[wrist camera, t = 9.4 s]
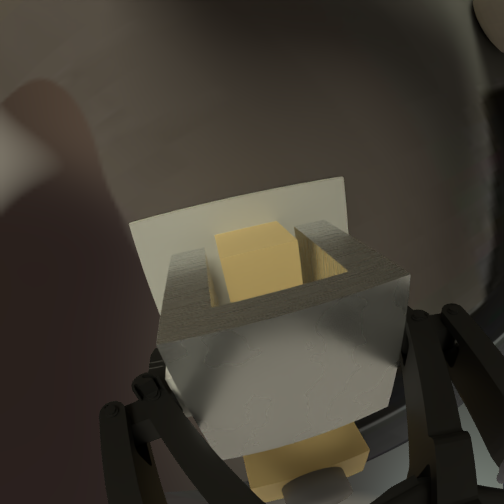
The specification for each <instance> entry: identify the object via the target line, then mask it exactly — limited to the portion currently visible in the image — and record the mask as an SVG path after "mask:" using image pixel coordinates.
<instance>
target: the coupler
mask: <svg viewBox="0 0 504 504" xmlns="http://www.w3.org/2000/svg"><path fill="white" fill-rule="evenodd" d="M214 236H215V240H216V244H217V249H218V253H219V257H220V262H221V266H222V270H223V274H224V278H225V282H226V286H227V290H228V294H229V298H230V302H231V303H233V302H237V301H241V300H245V299H249V298H253V297H257V296H261V295H265V294H269V293H272V292H276V291H280V290H284V289H288V288H291V287H295V286H299V285H302V284H303V280H302V272H301V263H300V255H299V247H298V240H297V239H296V238H295V237H294V236H293V235H292V234H290V233H289V232H288V231H287V230H286V229H285V228H284V227H283V226H282V225H281V224H280V223H279V222H277V221H274V222H269V223H265V224H260V225H256V226H252V227H247V228H243V229H238V230H234V231H230V232H226V233H221V234H217V235H214ZM369 451H370V449H369V448H368V446H367V444H366V442H365V441H364V439H363V437H362V435H361V434H360V432H359V430H358V428H357V427H356V425H355V423H354V422H352V423H349V424H347V425H344V426H342V427H339V428H337V429H334V430H331V431H328V432H326V433H323V434H320V435H317V436H314V437H311V438H308V439H305V440H302V441H299V442H296V443H292V444H289V445H285V446H282V447H278V448H274V449H271V450H267V451H263V452H259V453H254V454H250V455H245V456H243V458H244V463H245V467H246V472H247V476H248V480H249V484H250V488H251V490H252V491H253V492H254V493H255V494H256V495H257V496H258V497H259V498H260V499H261V500H262V501H263V502H264V503H265V502H270V501H274V500H278V499H282V498H284V499H285V503H286V504H338V503H339V502H341V501H343V500H345V499H346V498H348V497H349V496H350V495H351V494H352V493H353V490H352V487H351V485H350V483H349V481H348V479H347V477H349V476H351V475H354V474H356V473H358V472H361V471H363V469H364V466H365V463H366V460H367V457H368V454H369Z"/></svg>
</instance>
